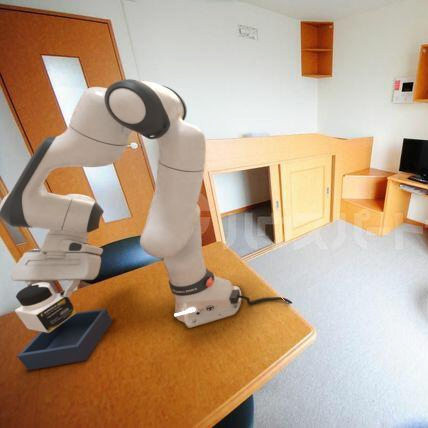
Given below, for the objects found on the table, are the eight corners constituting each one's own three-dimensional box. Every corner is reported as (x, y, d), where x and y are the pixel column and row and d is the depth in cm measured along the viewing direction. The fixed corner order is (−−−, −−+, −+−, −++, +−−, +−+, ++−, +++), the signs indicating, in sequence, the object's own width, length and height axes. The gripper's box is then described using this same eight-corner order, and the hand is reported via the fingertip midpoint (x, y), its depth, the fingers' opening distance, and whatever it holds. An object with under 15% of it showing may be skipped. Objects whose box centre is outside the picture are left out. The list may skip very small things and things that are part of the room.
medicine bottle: (48, 333, 63) (25, 299, 58) (27, 329, 64) (2, 296, 59) (77, 312, 70) (59, 280, 65) (57, 309, 71) (37, 277, 66)
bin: (112, 321, 80) (105, 308, 77) (86, 360, 68) (77, 346, 65) (64, 328, 77) (55, 315, 75) (28, 370, 65) (16, 356, 63)
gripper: (14, 246, 66) (-8, 298, 62) (91, 245, 68) (76, 296, 63) (38, 250, 72) (20, 298, 68) (108, 249, 74) (96, 296, 69)
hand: (48, 297), depth 65 cm, fingers closed on medicine bottle, 7 cm apart
